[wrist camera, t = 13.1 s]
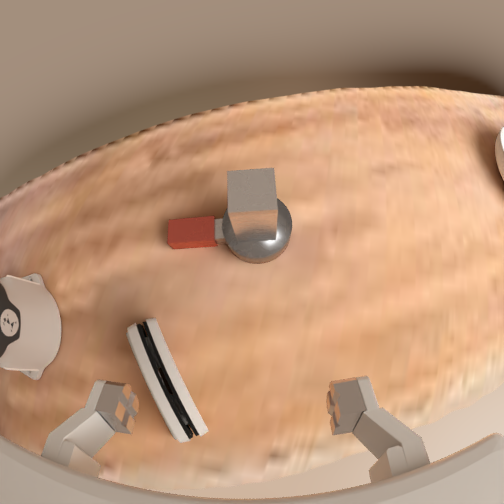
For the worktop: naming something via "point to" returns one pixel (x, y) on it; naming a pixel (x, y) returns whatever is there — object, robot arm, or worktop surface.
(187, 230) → the grey dome with handle
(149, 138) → the worktop surface
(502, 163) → the serving bowl
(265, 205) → the grey block
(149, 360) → the grey black slotted block
